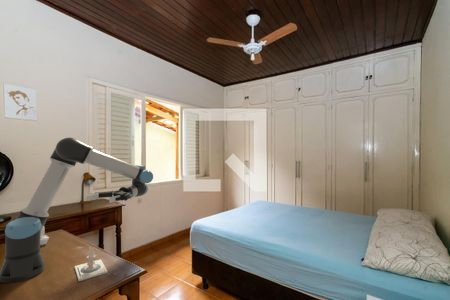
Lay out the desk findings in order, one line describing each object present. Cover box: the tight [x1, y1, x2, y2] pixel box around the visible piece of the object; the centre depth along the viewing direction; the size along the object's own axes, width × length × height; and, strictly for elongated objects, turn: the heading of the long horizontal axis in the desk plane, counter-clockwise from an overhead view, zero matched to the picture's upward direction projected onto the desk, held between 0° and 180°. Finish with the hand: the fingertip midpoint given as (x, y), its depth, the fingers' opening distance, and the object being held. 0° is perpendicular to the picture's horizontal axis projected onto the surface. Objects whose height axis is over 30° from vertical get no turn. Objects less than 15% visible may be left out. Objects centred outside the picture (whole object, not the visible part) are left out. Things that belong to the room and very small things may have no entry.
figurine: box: [40, 225, 50, 246], centre depth 130 cm, size 7×9×15 cm
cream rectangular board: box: [74, 259, 109, 282], centre depth 103 cm, size 14×11×1 cm
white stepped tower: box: [84, 245, 97, 271], centre depth 104 cm, size 5×5×10 cm
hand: (98, 199), depth 112 cm, fingers open, 13 cm apart
